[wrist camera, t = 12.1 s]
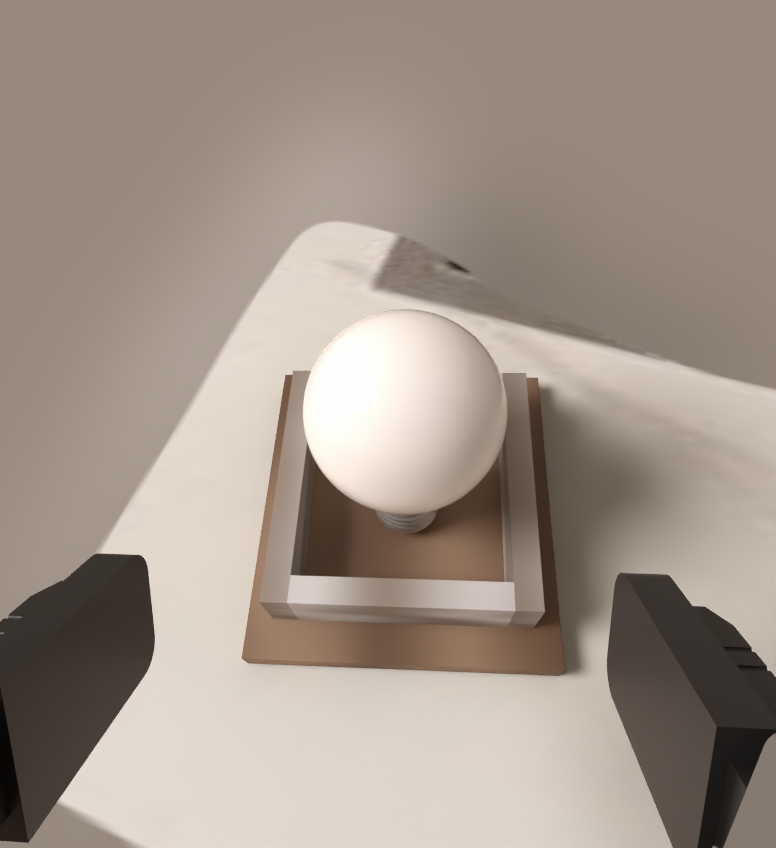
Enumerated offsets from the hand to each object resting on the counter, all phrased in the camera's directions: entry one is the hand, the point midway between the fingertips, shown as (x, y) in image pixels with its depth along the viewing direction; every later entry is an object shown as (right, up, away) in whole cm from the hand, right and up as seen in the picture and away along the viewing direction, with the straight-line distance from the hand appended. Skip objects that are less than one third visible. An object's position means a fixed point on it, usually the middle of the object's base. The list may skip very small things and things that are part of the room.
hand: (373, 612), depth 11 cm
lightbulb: (+1, 0, +16) cm, 16 cm away
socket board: (+1, -1, +17) cm, 17 cm away
